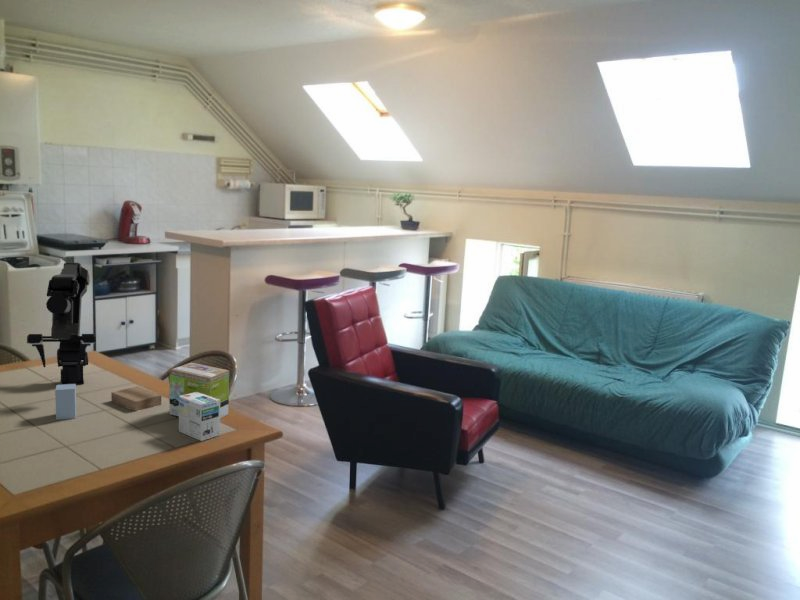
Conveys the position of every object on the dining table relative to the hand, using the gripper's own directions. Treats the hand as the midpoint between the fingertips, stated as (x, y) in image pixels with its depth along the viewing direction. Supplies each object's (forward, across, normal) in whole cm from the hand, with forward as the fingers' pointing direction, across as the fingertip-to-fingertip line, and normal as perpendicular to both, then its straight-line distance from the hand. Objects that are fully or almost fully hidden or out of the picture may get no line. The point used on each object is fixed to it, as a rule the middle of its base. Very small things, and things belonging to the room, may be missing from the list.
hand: (61, 366), depth 203 cm
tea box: (+16, +38, -19) cm, 45 cm away
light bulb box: (+20, +36, -33) cm, 53 cm away
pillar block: (+14, +2, -9) cm, 17 cm away
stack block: (+12, +22, -3) cm, 25 cm away
